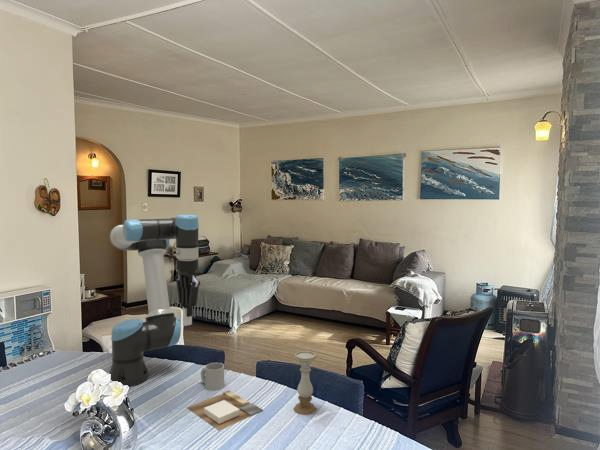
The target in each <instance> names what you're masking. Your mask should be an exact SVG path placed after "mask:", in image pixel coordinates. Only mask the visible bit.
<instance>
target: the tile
mask: <svg viewBox="0 0 600 450" xmlns="http://www.w3.org/2000/svg"><path fill="white" fill-rule="evenodd" d="M204 414H205V415H207V416H208V417H210V418H211V419H213V420H214V421H216V422H217V423H218V424H220V423H223V422H225V421H227V420H229V419H232V418H234V417H236V416H239V415H240V409H238V408H237V407H235V406H233V405H232V404H230V403H228V402H227V401H225V400H223V401H220V402H217V403H215V404H212V405H210V406H207V407H205V408H204Z"/></svg>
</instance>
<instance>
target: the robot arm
mask: <svg viewBox="0 0 600 450" xmlns="http://www.w3.org/2000/svg"><path fill="white" fill-rule="evenodd" d="M199 227H200V224H199V217H198V215H197V214H178V215H177V216H175V217H170V218H148V219H147V218H145V219H144V218H143V219H142V218H141V219H140V218H139V219H137V218H133V219H126V220H125V221H124V222H123V224H118V225H116V226H114V227H113V228H112V229H111V230H110V232H109V234H108V240H109V243H110V244H111V245H112V246H113V247H114V248H116V249H118V250H122V251H129V252H130V251H137V253H138V256H139V257H140V258H141V259H142V264H143V275H144V280H145V281H144V282H145V292H146V300H147V308H148V310H147V311H148V314H147V315H146V317H145V321H143V320H142V319H140V318H135V319H134V318H132V319H125V320H122V321H120V322H118V323H116V324H115V325H114V326H113V327H112V329H111V337H110V339H111V357H112V358H111V361H112V362H111V366H110V369H109V372H108V375H109V374H111V380H112V381H118V382H121V383H122V384H123V385H128V387H132V386H133V387H134V386H136V385H137V386H138V385H139V384H142V383H144V382H145V381H147V379H148V378H149V370H148V367H147V364H146V361H145V359H144V352H147V351H148V352H149V351H153V350H157V349H164V348H168V347H173V346H175V345H177V344H178V343H179V341H180V338H181V330H182V325H183V326H184V327H186V326H191V325H192V324H193V307H196V306H197V302H198V301H197V300H198V295H199V294H198V293H199V287H200V285H201V281H200V280H197V279H196V278H197V274H196V271H198V270H199ZM170 240H175V244H176V245H175V248H176V249H175V250H176V251H175V253H176V255H175V256H176V260H175V270H176V271H178V272H179V273H178V275H176V276H175V277H174V279H175V283H176V288H177V290H176V291H177V297H178V298H177V299H178V303H179V304H181V307H182V325H181V320H180V318H179V317H178V316H175V312H174V311H172V310H171V308H170V300H169V299H170V298H169V292H168V284H167V277H166V276H167V275H166V267H165V260H164V255H165V254H166V252H167V249H168V248H169V246H170Z"/></svg>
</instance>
